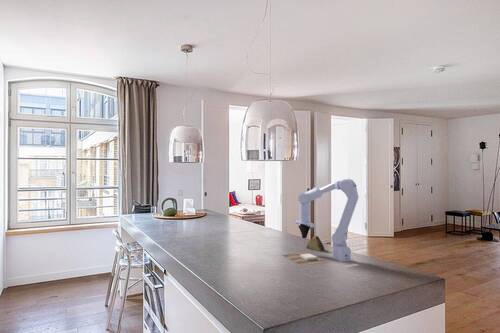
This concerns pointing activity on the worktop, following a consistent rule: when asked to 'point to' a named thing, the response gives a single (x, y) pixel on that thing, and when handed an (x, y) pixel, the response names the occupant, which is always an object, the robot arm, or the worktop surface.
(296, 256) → the board
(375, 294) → the worktop surface
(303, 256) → the tile
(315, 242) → the rock
